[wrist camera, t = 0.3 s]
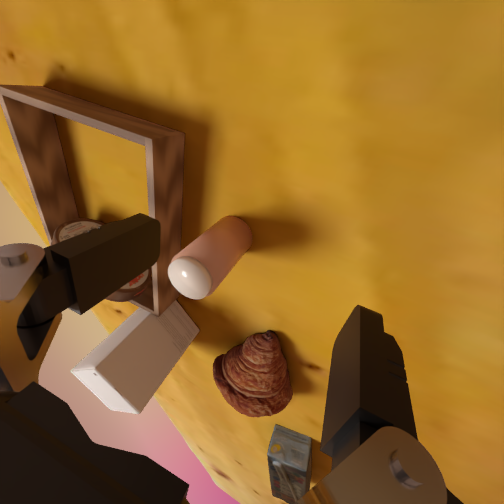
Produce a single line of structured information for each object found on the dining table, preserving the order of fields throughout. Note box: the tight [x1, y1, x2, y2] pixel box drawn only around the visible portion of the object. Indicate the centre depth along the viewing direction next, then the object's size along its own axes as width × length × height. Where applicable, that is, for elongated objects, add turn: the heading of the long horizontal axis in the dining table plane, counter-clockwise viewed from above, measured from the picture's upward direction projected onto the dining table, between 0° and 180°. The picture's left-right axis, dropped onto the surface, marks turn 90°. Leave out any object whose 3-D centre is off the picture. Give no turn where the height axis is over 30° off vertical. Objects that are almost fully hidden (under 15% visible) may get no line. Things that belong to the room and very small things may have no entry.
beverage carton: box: [267, 424, 312, 504], centre depth 51 cm, size 8×19×7 cm, turn 6°
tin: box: [51, 218, 151, 302], centre depth 37 cm, size 15×3×8 cm, turn 54°
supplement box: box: [70, 300, 200, 414], centre depth 39 cm, size 9×9×15 cm
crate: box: [0, 85, 185, 317], centre depth 34 cm, size 26×21×5 cm
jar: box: [168, 216, 252, 299], centre depth 27 cm, size 5×5×10 cm
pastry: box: [213, 330, 293, 417], centre depth 40 cm, size 17×15×8 cm
